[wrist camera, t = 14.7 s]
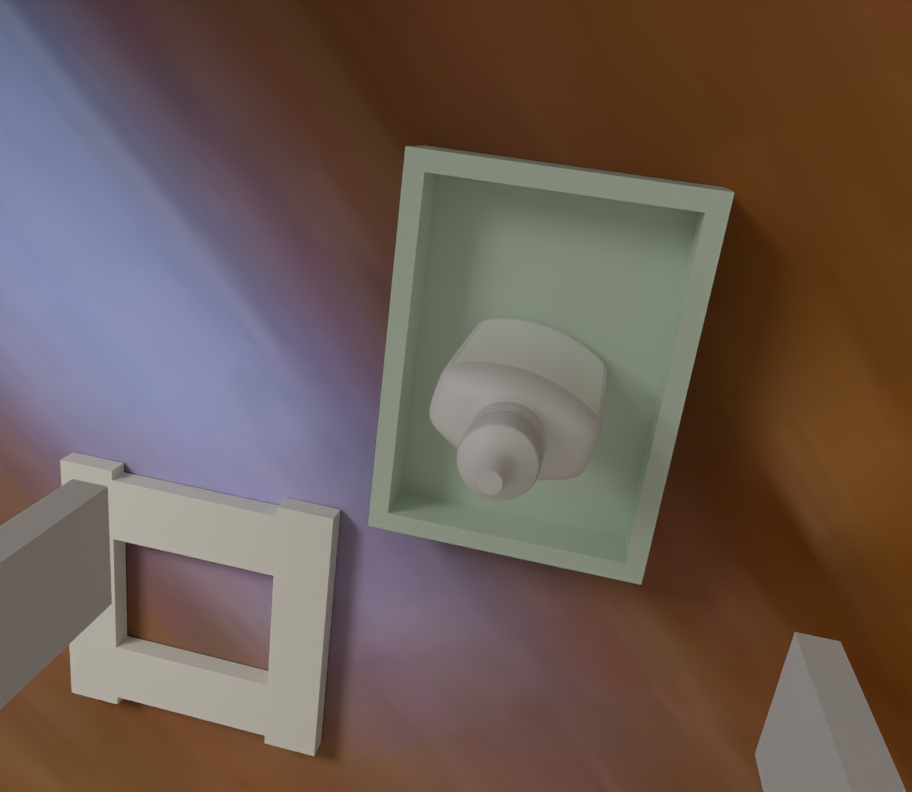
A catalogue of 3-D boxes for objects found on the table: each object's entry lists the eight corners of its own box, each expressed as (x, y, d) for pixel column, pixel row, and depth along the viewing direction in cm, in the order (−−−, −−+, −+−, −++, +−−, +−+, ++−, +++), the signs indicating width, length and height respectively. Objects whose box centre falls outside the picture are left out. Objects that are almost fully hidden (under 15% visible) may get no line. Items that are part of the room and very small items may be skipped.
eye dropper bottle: (531, 276, 31) (480, 354, 20) (622, 381, 32) (622, 514, 20) (452, 344, 33) (363, 453, 21) (541, 443, 33) (499, 599, 22)
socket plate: (83, 680, 44) (71, 692, 43) (73, 452, 39) (60, 460, 38) (321, 742, 42) (314, 756, 41) (340, 509, 37) (333, 519, 36)
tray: (387, 495, 36) (368, 526, 34) (424, 145, 31) (405, 146, 28) (639, 548, 35) (641, 584, 32) (724, 187, 29) (734, 192, 27)
